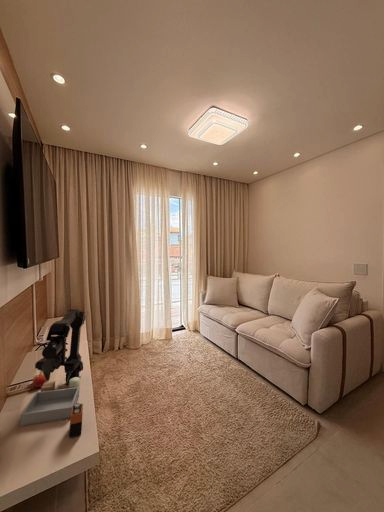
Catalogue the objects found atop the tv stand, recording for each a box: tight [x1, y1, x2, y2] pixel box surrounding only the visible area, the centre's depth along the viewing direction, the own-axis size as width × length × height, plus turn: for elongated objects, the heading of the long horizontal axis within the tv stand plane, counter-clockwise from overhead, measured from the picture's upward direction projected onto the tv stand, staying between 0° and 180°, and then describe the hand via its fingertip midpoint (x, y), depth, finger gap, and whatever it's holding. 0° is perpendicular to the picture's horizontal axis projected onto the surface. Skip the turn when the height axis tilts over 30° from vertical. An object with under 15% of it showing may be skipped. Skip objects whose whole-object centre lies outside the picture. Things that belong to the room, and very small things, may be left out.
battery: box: [68, 402, 84, 439], centre depth 88 cm, size 4×7×10 cm, turn 25°
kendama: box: [32, 370, 48, 388], centre depth 122 cm, size 8×6×18 cm
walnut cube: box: [40, 381, 56, 392], centre depth 111 cm, size 5×5×5 cm
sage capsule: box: [68, 377, 81, 388], centre depth 113 cm, size 5×5×7 cm
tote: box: [19, 386, 81, 427], centre depth 99 cm, size 16×20×5 cm
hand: (57, 381), depth 100 cm, fingers open, 9 cm apart
